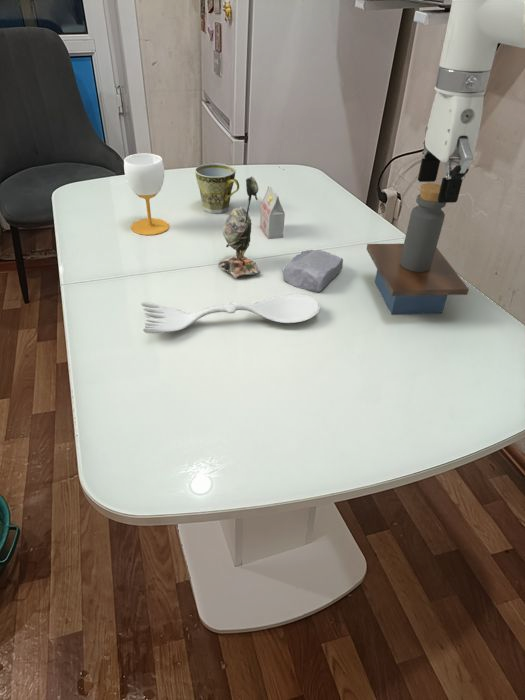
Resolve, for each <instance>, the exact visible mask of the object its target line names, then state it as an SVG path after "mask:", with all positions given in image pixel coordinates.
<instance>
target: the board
mask: <svg viewBox="0 0 525 700" xmlns="http://www.w3.org/2000/svg"><path fill="white" fill-rule="evenodd" d="M403 246H404V243H367V244H366V251H367V253H368V255H369V256H370V258H371V260H372V262H373V264H374V265H375V267H376V270H377V269H378V271H379V273H380V275H381V277H382V279H383V280H384V282H385V284H386V286H387V288H388V290H389V291H390V293H391V295H392V296H419V295H447V296H460V295H461V296H465V295H468V293H469V291H470V288H469V287H468V286H467V284H466V283H465V282H464V281H463V279H462V278H461V277H460V276H459V274H458V273H457V272H456V270H455V269H454V268H453V266H452V265H451V264H450V263H449V262H448V260H447V259H446V258H445V256H444V255H443V254H442V252H441V251H440V249H438V246H437V247H436V251H435V254H434V258H433V261H432V265H431V268H430V269H429V270H428V271H425V272H413V271H410V270H407V269H405V268H403V267H402V266H401V264H400V259H401V254H402V250H403Z"/></svg>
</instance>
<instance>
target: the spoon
mask: <svg viewBox="0 0 525 700" xmlns="http://www.w3.org/2000/svg"><path fill="white" fill-rule="evenodd" d="M140 304H141V306H142V307H144V308H143V311H145V312H144V313H143V314H144V315H145V316H148V317H146V318H145V320H146V323H145V326H144V329H142V330H143V332H144V333H145V334H161V333H171V332H178V331H181V330H182V331H183V330H184V329H186V328H187V327H189V326H191V325H192V324H193V323H195V322H197V321H198V320H200V319H201V318H203V317H205V316H208V315H212V314H215V313H228V314H234V313H235V312H236V311H246V312H251V313H254V314H256V315H258V316H260V317H261V318H264V319H266V320H269V321H272V322H275V323H281V324H296V323H301V322H305V321H307V320H310V319H312V318H314V317H315V316H317V314H318V313H319V311H320V309H321V308H320V303H319V301H318V299H316V298H315V297H314V296H312V295H309V294H302V293H300V294H299V293H293V294H292V293H291V294H285V295H279V296H278V295H277V296H273V297H269V298H266V299H263V300H261V301H258V302H255V303H251V304H250V303H249V304H244V303H243V304H242V303H241V304H239V303H233V302H226V303H225V304H222V305H213V306H209V307H206V308H203V309H200V310H197V311H195V312H185V311H182V310H180V309H177V308H174V307H168V306H163V305H160V304H157V303H153V302H150V301H143V302H141V303H140Z"/></svg>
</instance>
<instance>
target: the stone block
mask: <svg viewBox="0 0 525 700" xmlns="http://www.w3.org/2000/svg"><path fill="white" fill-rule="evenodd" d="M343 263H344V258H343V257H340V256H338V255H336V254H334V253H331V252H328V251H326V250H321V249H308V250H307V249H306V250H302V251H301V252H300V253H298V254H296V255H295V256H294V257H293V258H292V259H291V260H290V261H288V262H287V264H286V265H284V267H283V269H282V276H283V280H284V281H285V283H288V284H289V285H292V286H293V287H295V288H301V289H304V290H307V291H312V292H316V293H320V292H322V290H323V289H325V288H326V287H327V286H328V285H329V283H331V282H332V280H334V279H335V277H337V276H338V274H339V273H340V272H342V269H343V266H344V265H343Z"/></svg>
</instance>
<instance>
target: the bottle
mask: <svg viewBox="0 0 525 700" xmlns="http://www.w3.org/2000/svg"><path fill="white" fill-rule="evenodd" d="M440 187H441V184H439V183H434V182H426V183H422V184H420V187H419V188H420V189H419V190H420V191H419V194H417V196H416V199H415V202H416V204H417V205H416V206H414V207H413V208H412V209H411V212H410V215H409V220H408V224H407V229H406V233H405V236H404V240H403V241H404V242H403V244H404V246H403V250H402V254H401V259H400V264H401V266H402V267H403V268H405V269H407V270H410V271H413V272H425V271H428V270H429V269H430V268H431V265H432V261H433V258H434V254H435V251H436V247H437V248H438V244H439V239H440V237H441V236H440V235H441V232H442V228H443V225H444V221H445V217H446V214H445V212H444V211H443V210H442V209H443V208H445V207H446V205H447V203H439V202H438V196H439V191H440Z"/></svg>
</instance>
